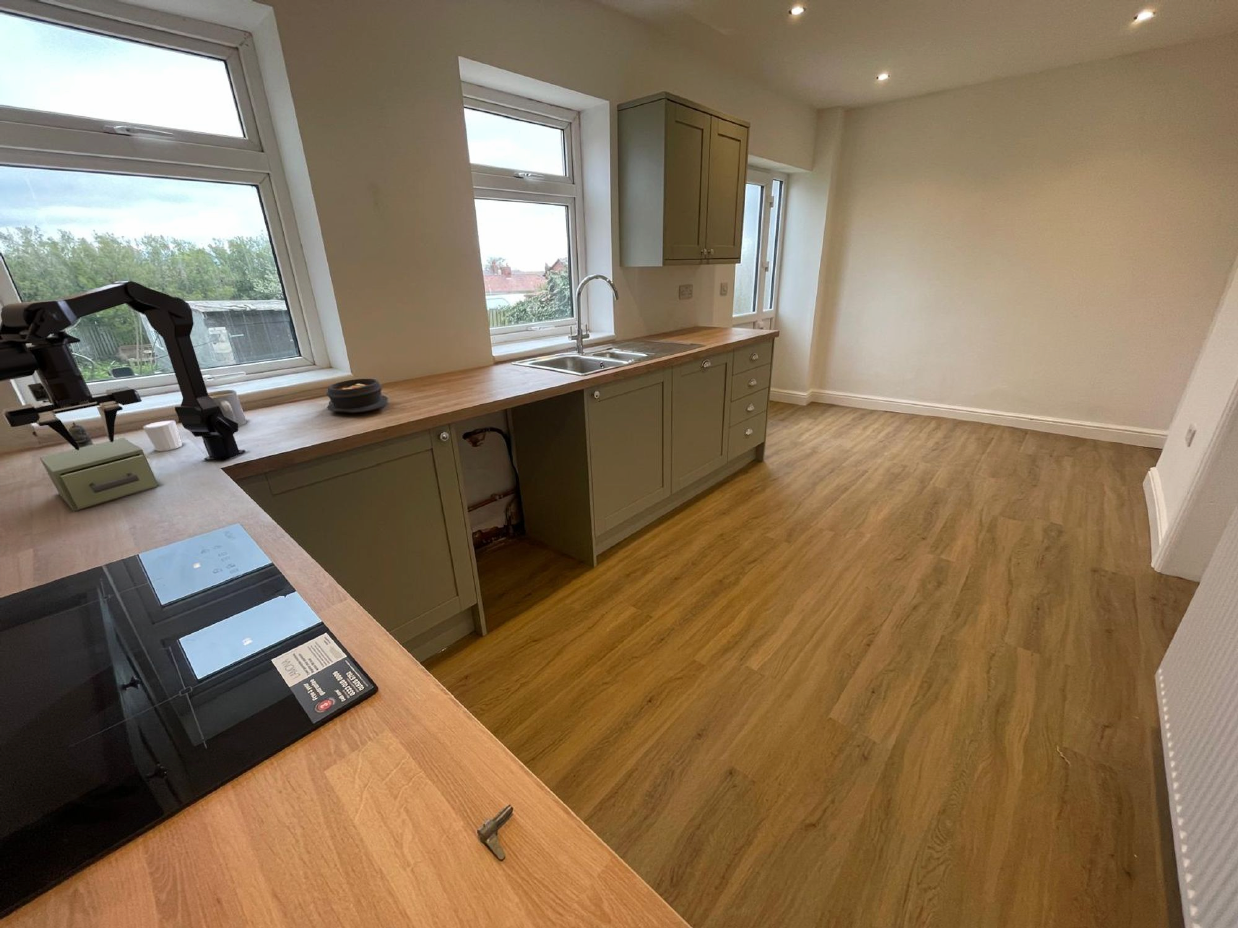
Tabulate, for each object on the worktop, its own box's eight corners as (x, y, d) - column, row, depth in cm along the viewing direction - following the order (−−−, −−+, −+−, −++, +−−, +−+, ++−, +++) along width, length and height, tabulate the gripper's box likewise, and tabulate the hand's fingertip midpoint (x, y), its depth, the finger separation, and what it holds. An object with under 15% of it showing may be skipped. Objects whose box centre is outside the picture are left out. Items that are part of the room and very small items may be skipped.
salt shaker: (91, 471, 125) (68, 426, 121) (73, 470, 126) (50, 425, 122) (117, 462, 131) (96, 418, 126) (99, 461, 132) (78, 418, 127)
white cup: (149, 453, 136) (138, 429, 133) (157, 446, 141) (147, 422, 138) (181, 448, 138) (171, 424, 136) (187, 441, 144) (178, 418, 141)
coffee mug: (207, 425, 158) (195, 394, 154) (245, 418, 163) (234, 388, 160) (209, 435, 148) (196, 402, 144) (249, 427, 154) (237, 395, 150)
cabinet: (158, 485, 115) (142, 449, 112) (74, 511, 105) (52, 471, 101) (139, 471, 124) (123, 437, 120) (59, 494, 113) (39, 457, 110)
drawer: (163, 490, 111) (149, 459, 108) (83, 514, 101) (66, 482, 98) (138, 472, 121) (125, 444, 118) (64, 493, 112) (47, 462, 109)
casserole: (403, 407, 166) (398, 383, 163) (345, 422, 154) (338, 396, 151) (371, 396, 182) (366, 373, 179) (316, 408, 170) (309, 384, 166)
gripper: (111, 358, 108) (142, 426, 114) (-20, 376, 94) (22, 453, 100) (125, 362, 102) (157, 434, 108) (-13, 383, 88) (32, 464, 94)
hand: (95, 445), depth 103 cm, fingers open, 5 cm apart
